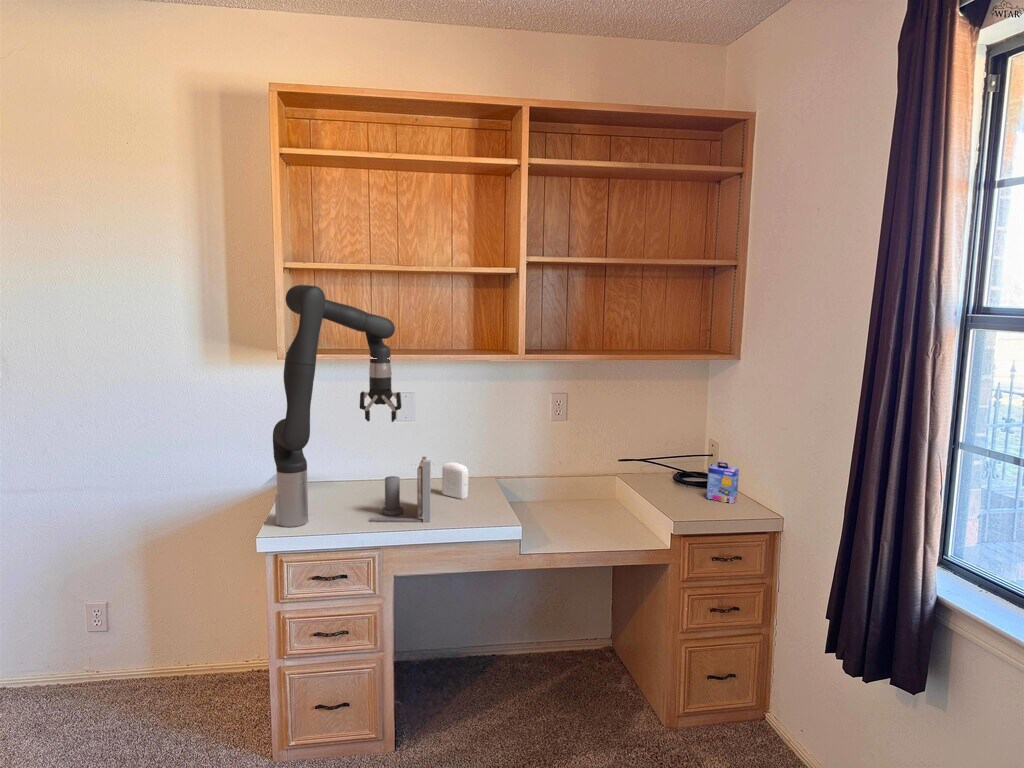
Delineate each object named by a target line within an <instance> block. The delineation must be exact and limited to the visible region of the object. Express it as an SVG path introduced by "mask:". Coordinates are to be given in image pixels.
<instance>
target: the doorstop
mask: <svg viewBox="0 0 1024 768" xmlns="http://www.w3.org/2000/svg"><path fill="white" fill-rule="evenodd" d="M400 481H401V480H400V477H399V476H394V475H393V476H391V475H390V476H386V477H385V478H384V506H383V507H382V508H381V515H382V516H384V517H399V516H401V514H402V515H403V514H404V507H403V506H400V504H401V503H400V502H401V500H400V498H401V497H400V495H401V493H400V490H401V489H400V486H401V485H400Z"/></svg>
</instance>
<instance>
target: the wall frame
mask: <svg viewBox="0 0 1024 768" xmlns="http://www.w3.org/2000/svg"><path fill="white" fill-rule="evenodd" d="M431 462H432V461H431V460H430V459H426V460H423V514H422V517H416V518H415V517H413V518H412V517H411V518H410V517H409V518H408V517H406V518H405V517H401V518H400V517H398V518H397V517H396V518H394V517H385V518H384V517H381V518H380V517H370V518H369V523H422V522H423V523H430V522H431V482H430V479H431V474H432V473H431Z"/></svg>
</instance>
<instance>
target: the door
mask: <svg viewBox="0 0 1024 768" xmlns="http://www.w3.org/2000/svg"><path fill="white" fill-rule="evenodd" d="M423 460H427V456H422V457H421V460H420V462H419V464H418V468H417V471H416V472H417V475H416V476H417V479H416V482H417V483H416V485H417V488H416V489H417V491H416V493H417V494H416V495H417V498H416V499H417V502H416V503H417V504H416V505H417V517H416V518H423ZM431 482H432V481H431V478H430V483H431Z"/></svg>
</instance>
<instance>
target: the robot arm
mask: <svg viewBox="0 0 1024 768" xmlns="http://www.w3.org/2000/svg"><path fill="white" fill-rule="evenodd" d="M285 303H286V304H285V305H286V306H287V307H288V309H289V310H290V311H291V312H293V313H294V314H297V315H299V322H298V329H297V332H296V335H295V336H294V339H293V341H292V343H291V344H290V346H289V347H288V350H287V352H286V354H285V358H284V369H283V385H284V392H285V396H286V397H285V398H286V413H285V418H283V419H281V420H279V421H278V422H277V423H276V424H275V425H274V428H273V431H272V449H273V459H274V462H275V466H276V467H275V468H276V495H275V497H274V503H275V506H274V509H275V526H281V527H285V528H286V527H287V528H292V527H293V528H294V527H300V526H303V525H306V524H307V523H309V501H308V500H309V496H308V494H309V493H308V462H307V459H306V458H305V455H304V452H303V449H304V448H305V447H306V446H307V445H308V442H309V440H310V437H311V436H310V435H311V404H312V398H313V390H314V380H315V375H316V365H317V354H318V346H319V339H320V331H321V327H322V322H323V319H324V320H326V321H330V322H333V323H334V324H335V323H336V324H338V325H340V326H343V327H345V328H349V329H351V330H354V331H356V332H361V333H365V337H366V341H367V345H368V349H369V357H370V356H371V357H373V358H377V359H370V358H369V369H368V371H369V373H368V375H369V377H368V379H369V391H368V392H367V391H366V392H365V391H364V390H362V391H361V392H360V393H359V409H360V410H363V411H364V419H365V421H366V422H370V420H371V410H370V408H371V407H372V406H373V405H378V406H379V405H383V406H384V405H387V407H389V408H390V410H391V417H390V418H391V419H390V420H391V421H390V422H391V423H394V422H395V421H396V420H397V411H399V410H401V409H402V395H401V392H400V391H398V392H393V391H392V374H393V373H392V365H391V359H390V360H389V359H387V358H389V357H390V358H391V348H390V346H388V345H386V344H385V343H384V340H386V339H389V338H391V337H393V335H394V334H395V331H396V326H395V324H394V322H393V321H392V320H390V319H389V318H388V317H384V316H380V315H378V314H373V313H369V312H367V311H365V310H362V309H361V308H357V307H356V306H355V307H354V306H351V305H348V304H344V303H340V302H335V301H333V300H330V299H326V296H325V292H324V290H322V288H321V287H319V286H316V285H308V284H307V285H306V284H305V285H304V284H299V285H294V286H292V287H290V288H289V289H288V290H287V291H286V295H285ZM383 339H384V340H383ZM367 396H368V397H369V399H370V401H369V403H368V404H366V405H365V399H366V398H367ZM392 397H394V399H396V405H395V404H394V402H393V401H392V400H391V398H392Z"/></svg>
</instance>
